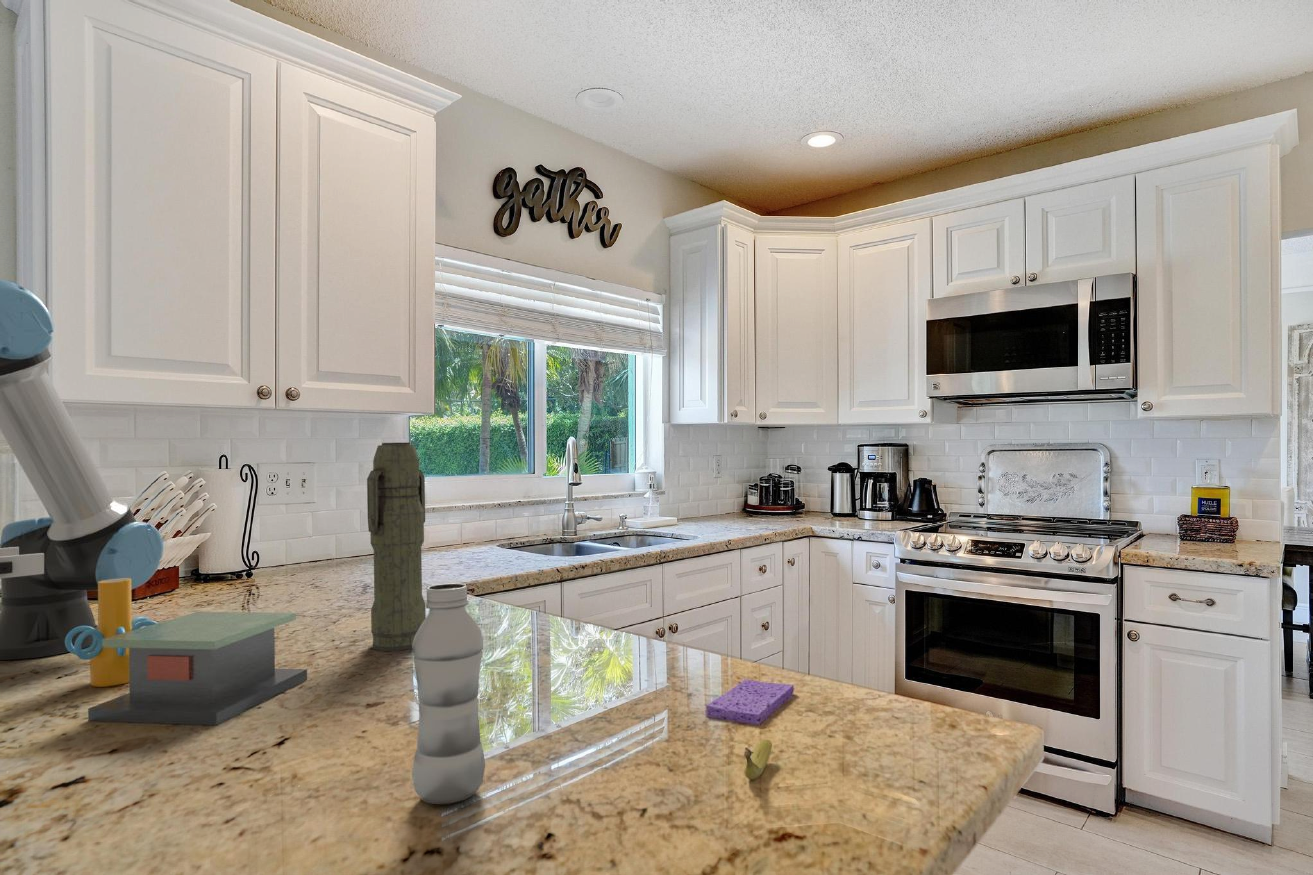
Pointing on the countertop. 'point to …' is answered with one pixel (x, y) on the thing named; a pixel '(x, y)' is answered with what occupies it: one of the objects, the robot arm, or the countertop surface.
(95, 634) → the cylinder
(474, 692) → the plastic bottle
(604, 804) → the countertop surface
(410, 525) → the thermos
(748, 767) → the banana
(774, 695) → the sponges
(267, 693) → the grey green pedestal stand
